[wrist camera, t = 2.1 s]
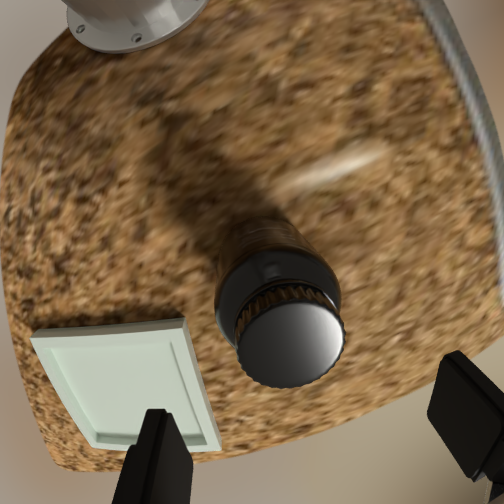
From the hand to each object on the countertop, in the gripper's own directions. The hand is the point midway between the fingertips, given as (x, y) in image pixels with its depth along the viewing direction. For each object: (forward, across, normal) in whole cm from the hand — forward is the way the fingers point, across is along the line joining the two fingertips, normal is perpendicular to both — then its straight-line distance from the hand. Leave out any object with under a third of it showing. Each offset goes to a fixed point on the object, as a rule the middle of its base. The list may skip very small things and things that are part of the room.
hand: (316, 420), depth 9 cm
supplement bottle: (+16, 0, -1) cm, 16 cm away
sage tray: (+16, +15, +11) cm, 25 cm away
